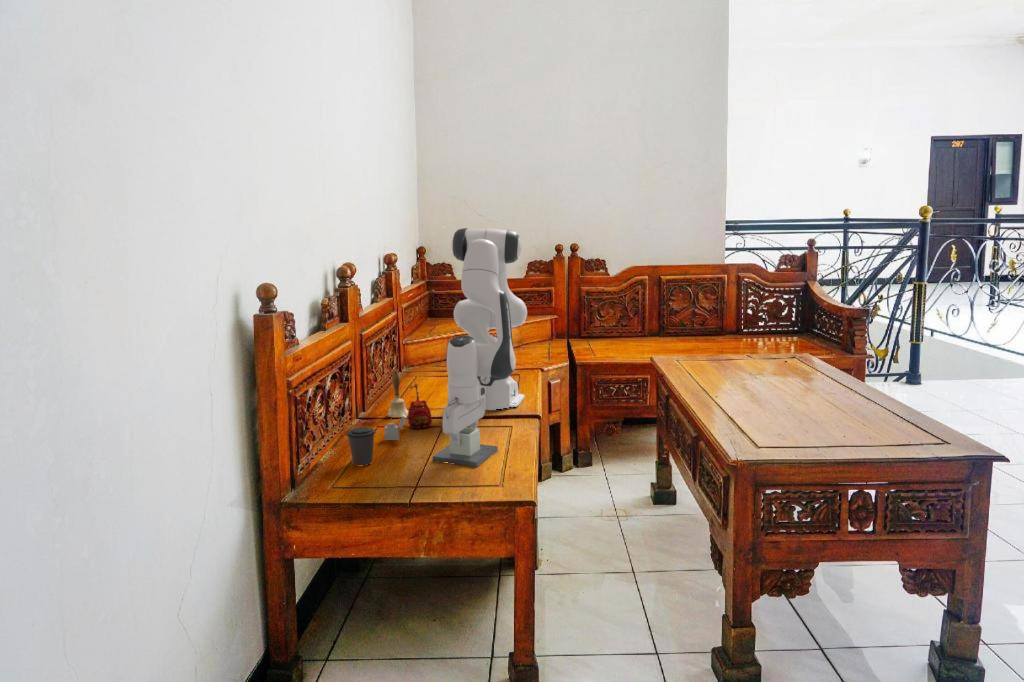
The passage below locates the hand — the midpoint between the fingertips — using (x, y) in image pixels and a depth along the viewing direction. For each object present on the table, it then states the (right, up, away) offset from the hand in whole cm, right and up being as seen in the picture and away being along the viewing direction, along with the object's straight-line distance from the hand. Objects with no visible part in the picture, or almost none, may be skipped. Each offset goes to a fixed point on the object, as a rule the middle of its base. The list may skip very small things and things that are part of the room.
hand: (465, 440), depth 207 cm
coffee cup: (-29, -6, -3) cm, 30 cm away
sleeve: (0, -3, +1) cm, 3 cm away
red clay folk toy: (-17, 0, +30) cm, 34 cm away
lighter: (-22, -2, +17) cm, 28 cm away
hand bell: (-26, +3, +43) cm, 50 cm away
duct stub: (0, -5, +1) cm, 5 cm away
